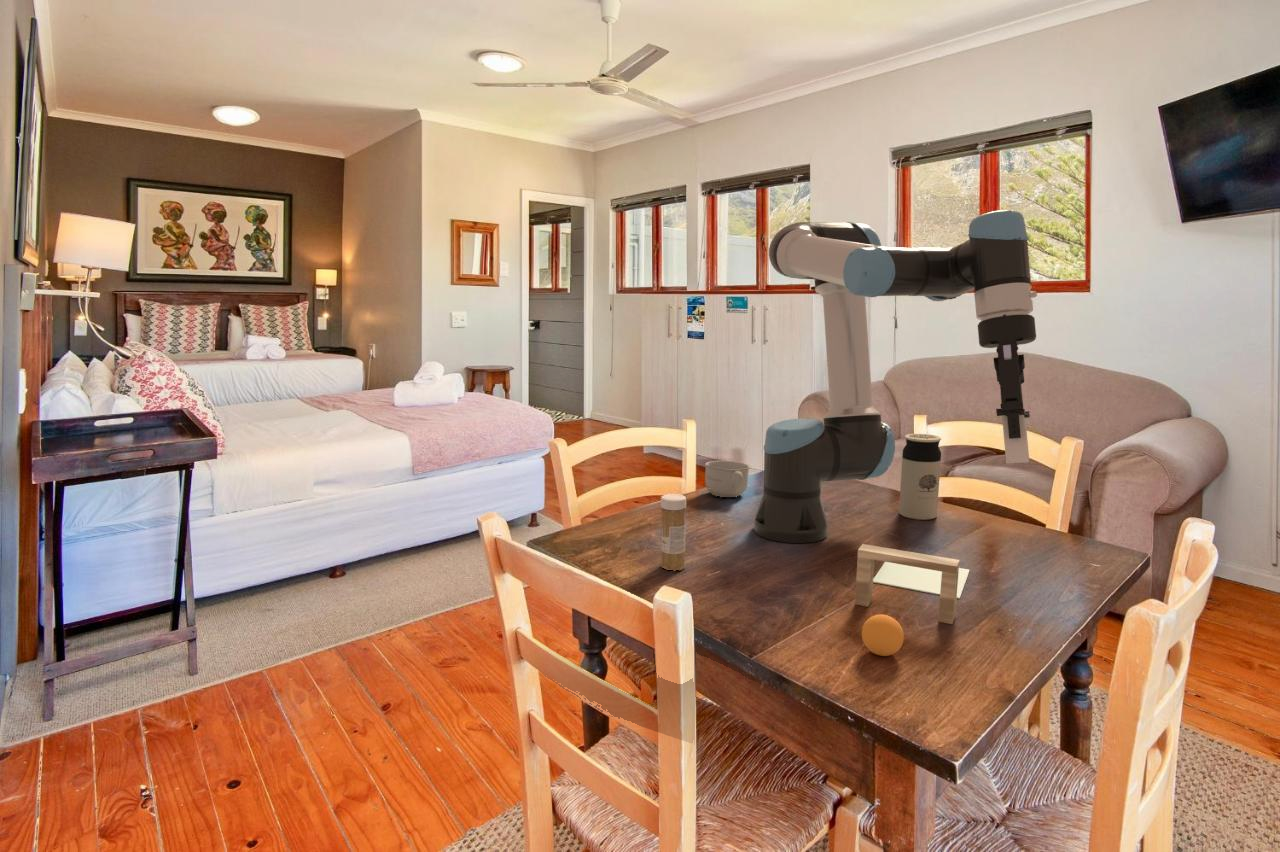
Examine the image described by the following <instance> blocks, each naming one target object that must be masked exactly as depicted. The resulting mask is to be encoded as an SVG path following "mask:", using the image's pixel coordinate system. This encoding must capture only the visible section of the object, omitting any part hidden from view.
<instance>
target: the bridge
mask: <svg viewBox="0 0 1280 852" xmlns="http://www.w3.org/2000/svg"><path fill="white" fill-rule="evenodd" d="M875 561H880V562H884V563H885V562H890V563H896V564H901V565H907V566H913V567H919V568H924V569H930V570H936V571H941V572H942V577H941V590H940V595H939V604H938V606H939V607H938V619H937V622H939V623H944V624H949V625H953V623H954V621H955V619H956V609H957V599H958V598H957V586H958V573H959V568H960V559H955V558H950V557H943V556H938V555H937V556H936V555H930V554H925V553H919V552H915V551H913V552H912V551H906V550H902V549H901V550H900V549H896V548H890V547H889V548H888V547H882V546H879V545H878V546H877V545H872V544H864V543H862V544H861V545H860V547H859V548H858V549H857V562H856V580H855V582H856V583H855V596H854V597H855V598H854V605H857V606H862V607H867V608H868V607H869V606H870V604H871V602H872V601H873V594H874V593H873V590H874V582H873V579H874V577H875V576H874V574H875Z"/></svg>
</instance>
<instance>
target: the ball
mask: <svg viewBox="0 0 1280 852" xmlns="http://www.w3.org/2000/svg"><path fill="white" fill-rule="evenodd" d="M903 630H904V629H903V628H902V626H901V624H900V622H899V621H897V620H896V619H895V618H893V617H892V616H890V615H887V614H883V613H882V614H875V615H872V616H870V617H869V618H868V619H867V620H865V622H864V624H863V626H862V628H861V638H862V641H863V643H864V645H865V647H866V648H867V649H868V650H869V651H870V652H871V653H873V654H875V655H876V656H877V655H878V656H882V657H888V656H892V655H895V654H896V653H897V652H898V651H900V649H901V648H902V645H903V643H904V640H905V639H904V637H905V636H904V631H903Z"/></svg>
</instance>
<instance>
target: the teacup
mask: <svg viewBox="0 0 1280 852" xmlns="http://www.w3.org/2000/svg"><path fill="white" fill-rule="evenodd" d="M704 466H705V473H704V476H705V477H704V482H705V484H704V485H705V487H706V489H707V490H708V491H709V492H710V493H711V495H713V496H714V495H715V496H714V497H717V496H720V497H719V498H722V497H736V496H738V497H740V496H741V495H742V494H744V493H745V492H746V491H747V488H748V484H749V482H748V481H749V475H750V474H749V473H750V472H749V471H750V465H749V464H747V463H743V462H740V461H739V462H738V461H732V460H731V461H730V460H710V461H707V462H705V463H704ZM708 488H711V489H708ZM739 495H740V496H739ZM736 498H737V497H736Z"/></svg>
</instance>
